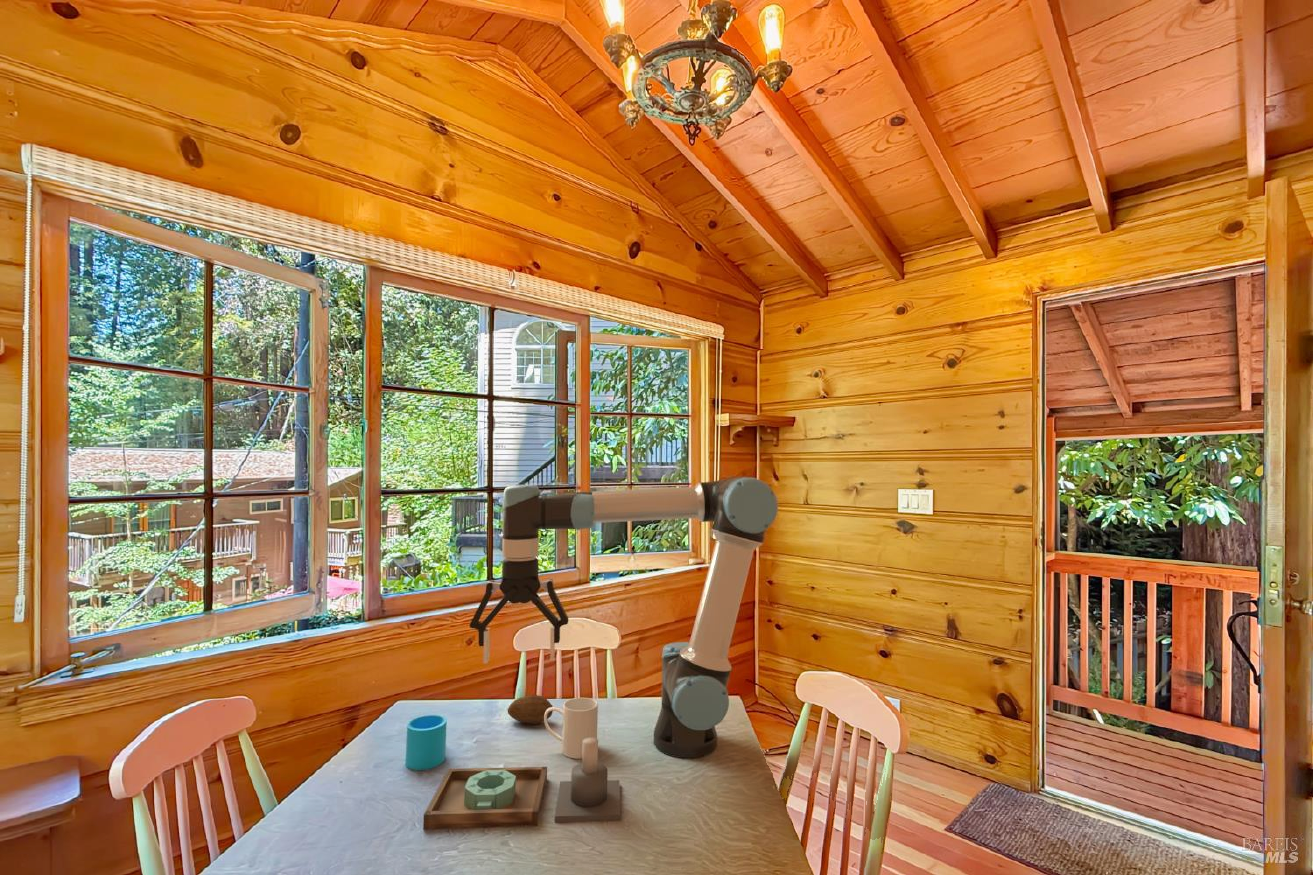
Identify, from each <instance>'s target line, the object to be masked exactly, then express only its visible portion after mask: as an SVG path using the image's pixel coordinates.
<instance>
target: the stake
mask: <svg viewBox="0 0 1313 875" xmlns="http://www.w3.org/2000/svg"><path fill="white" fill-rule="evenodd" d="M581 759H582V760H581V762H580V763H577V764H576V765H574V766H572V768H571V774H570V776H571V777H570V778H571V779H570V780H569V781H566V780H565V781H560V782H559V787H558V795H557V800H556V806H555V813H554V823H562V822H563V823H567V822H568V823H569V822H596V821H597V822H598V821H599V822H600V821H601V822H602V821H603V822H605V821H621V817H622V816H621V814H622V813H621V787H620V779H615V780H614V779H610V780H609V779H608V778H609V776H608V774H609V773H608V772H609V771H608V766H606V764H603V763H601V762H599V760H598V759H599V740H598V738H597V739H596V738H586V739H584V740H583V748H582V758H581Z"/></svg>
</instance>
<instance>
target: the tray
mask: <svg viewBox="0 0 1313 875" xmlns="http://www.w3.org/2000/svg"><path fill="white" fill-rule="evenodd" d="M485 770H506V771H508V772H510V773H511V774H513V775H515V776H516V790H515V796H514V799H513V802H512V803H511V804H509V805H507V806H505V807H503V808H501V809H491V810H472V809H470V808H469V807H467V806H466V805H464V794H465V786H466V784H467V781H468V779H469V778H470V777H471V776H474V775H476V774H478V773H481V772H483V771H485ZM547 779H548V766H521V767H520V766H516V767H515V766H514V767H513V766H512V767H475V768H473V767H472V768H471V767H469V768H467V767H466V768H448V769H447V771H446V773H445V775H444V776H443V778H442V780H441V782H440V784H439V786H438V788H437V790H436V791H435V793H434V795H433V796H432V799H431V801H430V802H429V804H428V806H427V807H426V810H425V811H424V813H423V826H422V829H423V830H437V829H438V830H442V829H446V830H447V829H471V828H472V829H474V828H475V829H476V828H479V829H480V828H508V827H509V828H510V827H512V828H513V827H537V826H538V823H539V819H540V814H541V810H542V804H543V799H544V794H545V791H546V785H547Z"/></svg>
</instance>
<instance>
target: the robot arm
mask: <svg viewBox="0 0 1313 875" xmlns="http://www.w3.org/2000/svg"><path fill="white" fill-rule="evenodd" d="M502 499H503V500H502V501H503V502H502V507H501V509H502V544H501V545H502V553H501V554H502V557H503V558H504V559H503V560H502V562H501V563H502V564H501V565H502V566H501V569H502V570H501V571H502V572H501V582H494V581H492V580H489V581H488V583H486V586H485V593H484V596H483V598H482V599H481V601H480V604H479V605H478V608H477V609H476V611H475V612H474V615H473V617H472V619H471V621H470V623H469V629H475V630H477V631H478V646H479V647H483V664H488V662H489V660H490V645H491V644H490V632H491V631H490V630H491V628H490V627H488V625H489V624H490V623H491V622H492V621H493V620H494V618H495V617H496V616H497V615H498V614H499V612H500V611H501V610H502V609H503V607H504V606H506V604H507V603H508V602H509V603H511V604H512V605H513V604H514V605H515V604H516V605H517V604H519V603H522V604H528V603H530V602H532V604H533V605H534V606H535V607H537V609H538V610H539V611H540V612H541V613H542V615H543V616H544V617H545V619H547V621H548V622H549V623H550V624H551V625H550V631H549V632H550V633H549V636H550V637H549V638H550V640H549V641H550V644H549V646H550V649H549V650H550V651H549V653H550V654H549V658H550V659H549V660H550V661H555V646H556V645H555V644H559V643H560V640H561V627H562V626H564V625H568V624H569V616H568V615H567V613H566V611H565V608H564V607H563V605H562V603H561V601H560V598H559V597H558V595H557V592H556V590H555V586H554V580H553V579H551V578H550V579H549V578H548V580H545V581H540V579H539V559H538V558H537V557H538V556H539V544H540V542H539V540H540V537H539V536H540V534H539V531H540V530H543V531H545V530H577V531H580V530H586V529H592V528H593V527H594V526H595V524H601V523H617V522H620V523H621V522H641V521H658V520H659V521H661V520H662V521H663V520H680V519H681V520H683V519H696V520H697V521H699V522H700V523H704V522H705V523H706V522H707V523H708V522H709V523H712V526H711V531H712V533H713V535H714V537H715V542H714V546H713V550H712V554H711V559H710V561H709V565H708V568H707V573H706V578H705V581H704V585H703V588H702V593H701V597H700V599H699V600H700V601H699V605H698V607H697V612H696V617H695V621H694V624H693V627H692V632H691V634H690V639H689V641H687V642H686V641H683V642H682V641H680V642H679V641H678V642H670V643H668V644H665V645H664V646H663V647H662V656H661V659H662V660H661V661H662V664H661V665H662V667H661V674H662V675H661V706H660V707H661V708H660V712H659V715H658V718H657V721H656V724H655V727H654V730H653V746H654V747H655V746H656V747H655V748H656V749H657V750H658V751H660V752H662V753H663V752H664V753H663V754H665V753H667V754H666V755H668V754H669V756H671V755H672V757H677V758H685V759H687V758H698V757H699V758H700V757H704V756H706V754H707V755H709V754H711V753H713V752H714V751H715V750H716V749H717V747H716V746H718V733H717V730H716V726H717V725H719V724H721V722H722V721H723V720H724V718H725V717H726V715H727V714H728V711H729V707H730V706H729V705H730V698H729V697H730V696H729V692H728V689H727V687H728V683H729V680H730V675H731V671H732V665H731V663H730V661H729V659H728V654H729V651H730V647H731V642H732V638H733V634H734V630H735V626H736V623H737V619H738V614H739V611H740V606H741V601H742V598H743V594H744V590H745V586H746V583H747V579H748V576H749V572H750V566H751V563H752V559H753V555H754V551H755V550H756V549H758V548H759V547H760V546H763V544H764V539H765V536H766V533H767V529H769V528H770V527H771V526H772V524H773V523H774V522H775V521H776V517H777V516H778V509H779V505H778V498H777V497H776V494H775V492H774V491H773V489H772V488H771V486H769V485H768V484H767V483H766V482H765V481H763V480H761V479H758V478H756V477H752V476H751V477H749V476H740V477H738V476H735V477H734V476H733V477H728V478H724V479H720V480H719V479H718V480H714V481H705V482H704V481H703V482H702V481H701V482H697V483H696V484H695V486H687V487H686V486H684V487H661V488H643V489H623V490H622V489H621V490H620V489H619V490H617V489H616V490H615V489H614V490H596V491H595V490H594V491H577V492H576V491H567V492H564V493H562V494H542V493H541V492H540V489H539V486H538V485H509V486H506V487H505V489H504V491H503V498H502ZM541 588H542V589H543V591H544V592H547V594H548V597H549V599H550V600H551V602H552V605H553V607H554V608H555V611H556V613H557V615H558V617H559V618H558V617H557V616H556V614H554V613H553V611H552V610H551V609H550V607H548V606H547V604H546V603H545V602H544V601H543V599H542V598H541V597H540V596H539V594H537V593H538V591H539V590H540V589H541ZM498 589H499V591H501V593H502V595H503V596H502V598H501V599H500V601H498V603H497V604H496V605H495V606H494V608H493V609H491V611H490V612H489V613H488V614H487V616H486V617H485V618H484V619H483V620H482V622H481V621H480V619H481V617H482V615H483V613H484V611H485V609H486V607H487V605H488V603H489V601H490V600H491V598H492V595H493V594H495V593H496V592H497V591H498ZM715 748H716V749H715ZM714 749H715V750H714ZM713 750H714V751H713ZM712 751H713V752H712ZM710 752H711V753H710ZM708 753H709V754H708ZM703 755H704V756H703Z"/></svg>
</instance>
